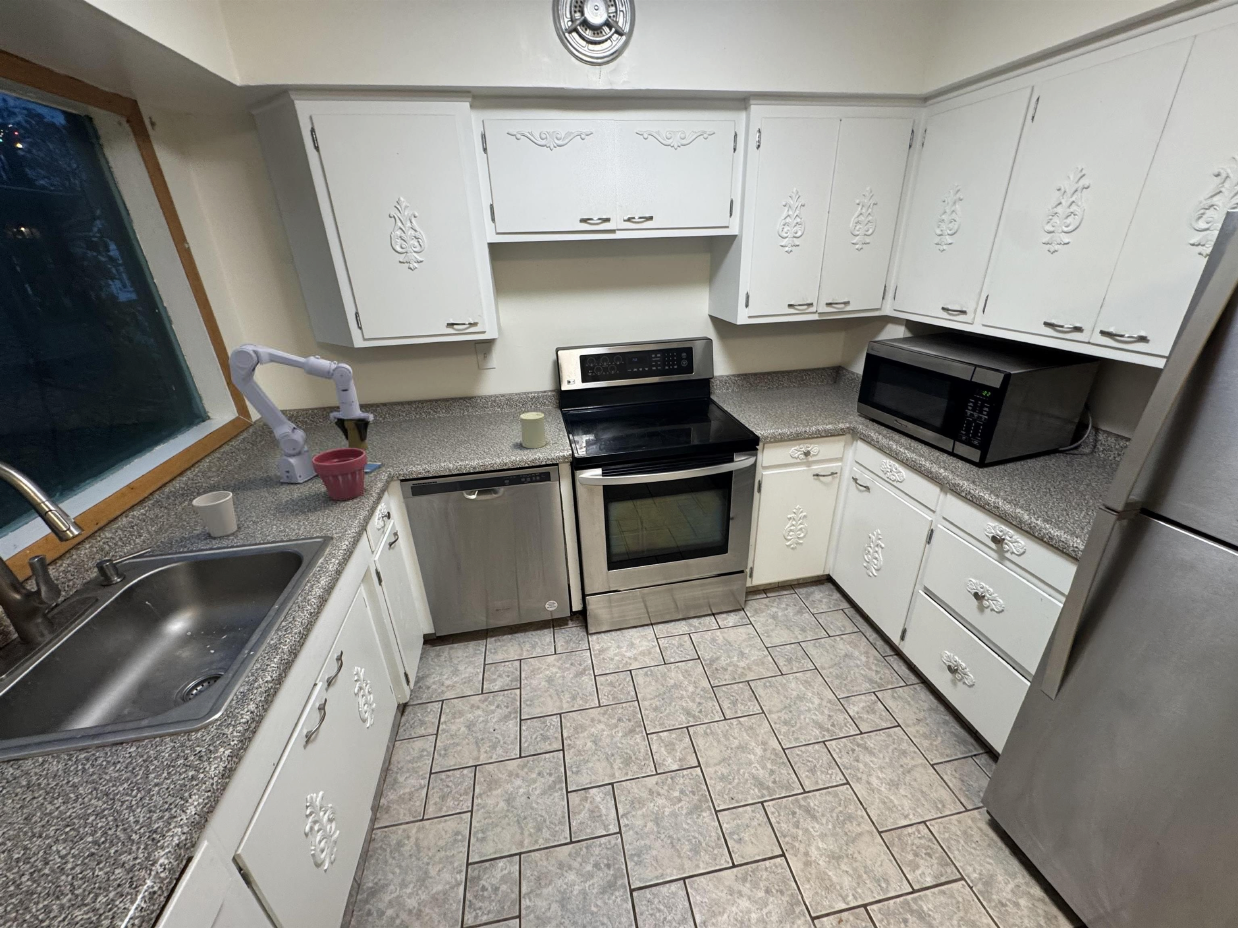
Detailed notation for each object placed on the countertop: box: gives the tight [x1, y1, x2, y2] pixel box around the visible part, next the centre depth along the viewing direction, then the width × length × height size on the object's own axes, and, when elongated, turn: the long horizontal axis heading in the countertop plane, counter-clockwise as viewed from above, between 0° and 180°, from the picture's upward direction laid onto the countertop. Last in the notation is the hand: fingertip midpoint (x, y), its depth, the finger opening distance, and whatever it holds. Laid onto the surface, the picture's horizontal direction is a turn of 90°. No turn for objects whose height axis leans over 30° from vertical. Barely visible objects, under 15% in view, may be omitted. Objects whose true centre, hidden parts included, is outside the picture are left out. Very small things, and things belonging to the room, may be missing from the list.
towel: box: [364, 461, 384, 474], centre depth 174 cm, size 8×9×1 cm
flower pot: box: [311, 447, 368, 501], centre depth 153 cm, size 14×14×13 cm
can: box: [519, 411, 547, 449], centre depth 193 cm, size 9×9×12 cm
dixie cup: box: [191, 490, 238, 538], centre depth 132 cm, size 8×8×10 cm
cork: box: [344, 419, 369, 452], centre depth 170 cm, size 6×6×11 cm
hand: (356, 440), depth 171 cm, fingers closed on cork, 5 cm apart
